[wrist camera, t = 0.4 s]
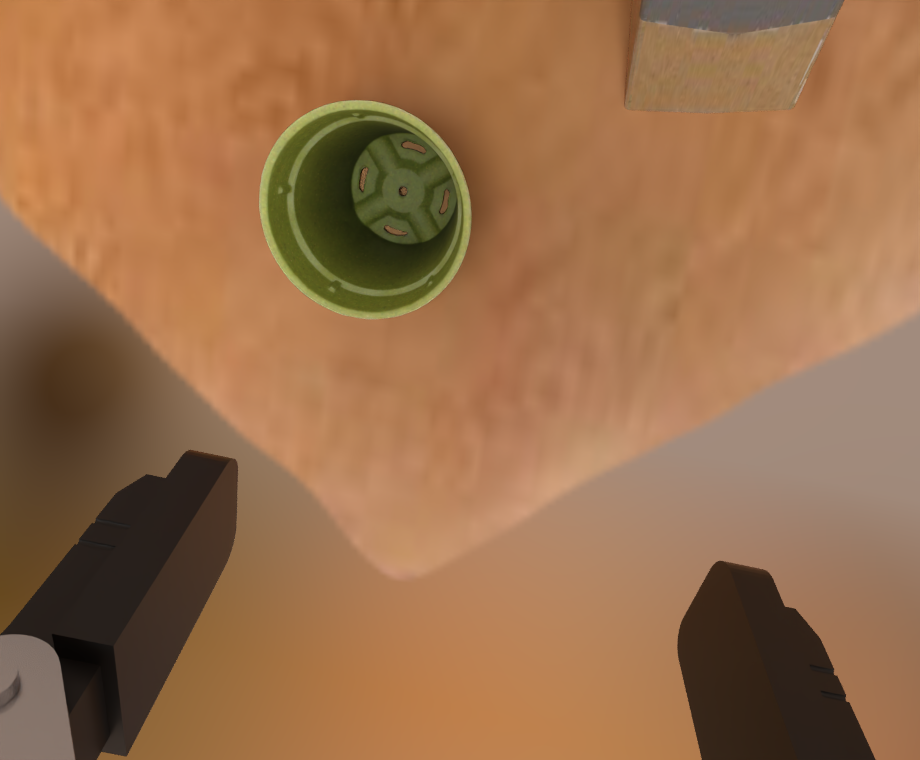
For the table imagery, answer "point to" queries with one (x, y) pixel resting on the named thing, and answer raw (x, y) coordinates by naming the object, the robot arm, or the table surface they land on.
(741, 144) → the table surface
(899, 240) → the table surface
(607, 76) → the table surface
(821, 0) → the sandwich container
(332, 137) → the plant pot
